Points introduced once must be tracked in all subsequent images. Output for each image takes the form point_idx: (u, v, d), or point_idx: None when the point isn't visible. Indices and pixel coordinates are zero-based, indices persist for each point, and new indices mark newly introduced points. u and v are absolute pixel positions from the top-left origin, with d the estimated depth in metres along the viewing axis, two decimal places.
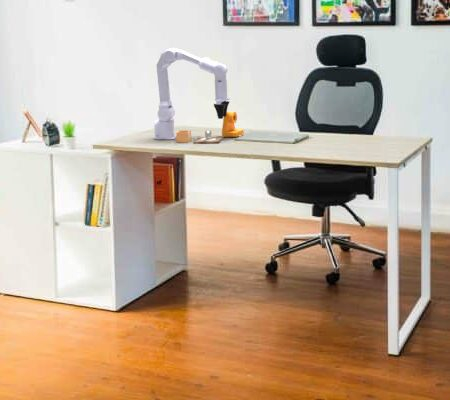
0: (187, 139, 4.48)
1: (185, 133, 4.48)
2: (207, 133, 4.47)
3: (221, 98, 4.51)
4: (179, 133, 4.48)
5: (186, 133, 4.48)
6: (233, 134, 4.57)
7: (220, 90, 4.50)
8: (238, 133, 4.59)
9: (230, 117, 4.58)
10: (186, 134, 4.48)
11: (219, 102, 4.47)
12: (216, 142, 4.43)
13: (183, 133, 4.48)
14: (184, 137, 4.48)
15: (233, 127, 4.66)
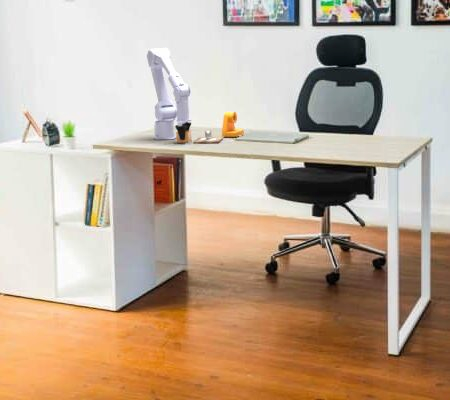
0: (187, 139, 4.48)
1: (185, 133, 4.48)
2: (207, 133, 4.47)
3: (182, 119, 4.47)
4: None
5: (186, 133, 4.48)
6: (233, 134, 4.57)
7: (181, 111, 4.46)
8: (238, 133, 4.59)
9: (230, 117, 4.58)
10: (186, 134, 4.48)
11: (180, 124, 4.43)
12: (216, 142, 4.43)
13: None
14: None
15: (233, 127, 4.66)
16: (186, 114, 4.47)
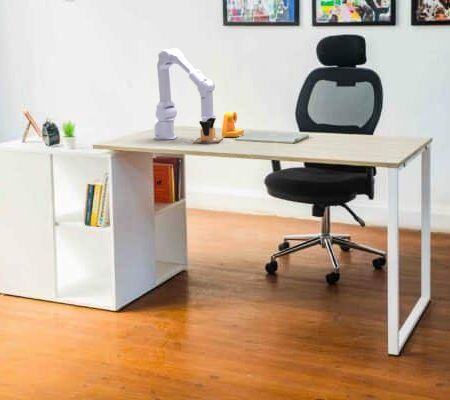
0: (211, 136, 4.46)
1: (209, 130, 4.45)
2: None
3: (207, 115, 4.44)
4: None
5: (210, 130, 4.45)
6: (233, 134, 4.57)
7: (206, 107, 4.43)
8: (238, 133, 4.59)
9: (230, 117, 4.58)
10: (210, 131, 4.45)
11: (205, 119, 4.40)
12: (216, 142, 4.43)
13: None
14: None
15: (233, 127, 4.66)
16: (210, 110, 4.44)
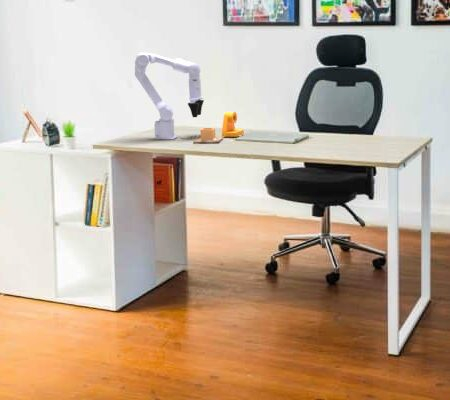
0: (211, 136, 4.46)
1: (209, 130, 4.45)
2: None
3: (195, 97, 4.57)
4: (203, 130, 4.46)
5: (210, 130, 4.45)
6: (233, 134, 4.57)
7: (194, 89, 4.57)
8: (238, 133, 4.59)
9: (230, 117, 4.58)
10: (210, 131, 4.45)
11: (193, 101, 4.54)
12: (216, 142, 4.43)
13: (207, 130, 4.45)
14: (208, 134, 4.46)
15: (233, 127, 4.66)
16: (198, 92, 4.58)
